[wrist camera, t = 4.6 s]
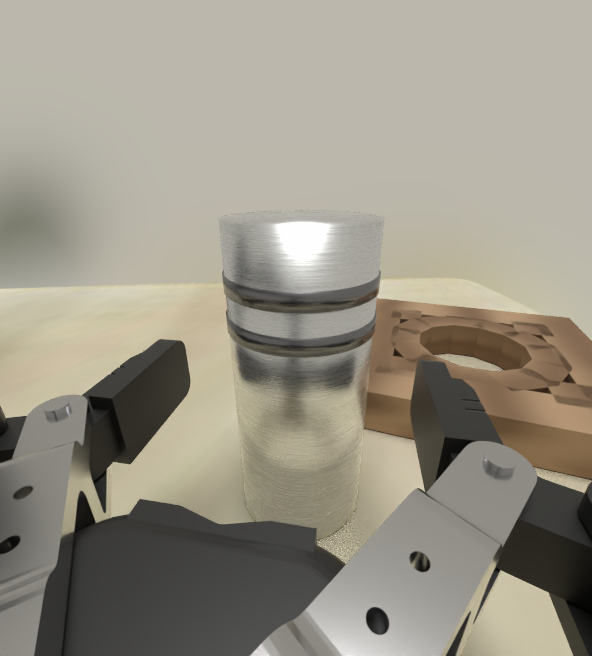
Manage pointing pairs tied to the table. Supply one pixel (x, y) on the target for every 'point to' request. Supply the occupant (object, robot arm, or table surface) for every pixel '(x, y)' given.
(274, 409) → the salt shaker
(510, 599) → the table surface
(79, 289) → the table surface
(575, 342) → the ring block
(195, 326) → the table surface
